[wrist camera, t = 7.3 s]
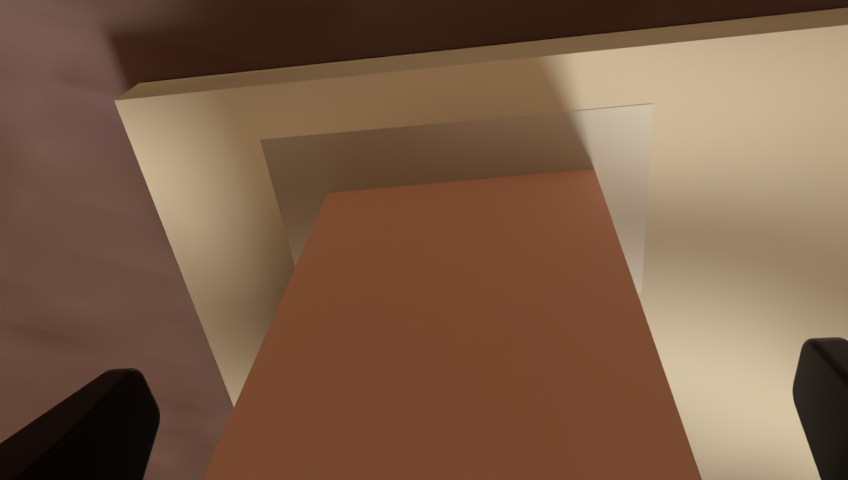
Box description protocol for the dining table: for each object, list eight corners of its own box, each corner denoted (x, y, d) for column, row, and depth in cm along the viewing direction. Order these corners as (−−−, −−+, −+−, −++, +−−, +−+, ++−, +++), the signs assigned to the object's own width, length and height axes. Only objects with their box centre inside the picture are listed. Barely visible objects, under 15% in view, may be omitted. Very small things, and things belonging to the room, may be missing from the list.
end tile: (594, 243, 12) (729, 723, 6) (344, 261, 13) (198, 710, 6) (594, 168, 12) (752, 626, 5) (327, 193, 12) (139, 624, 6)
